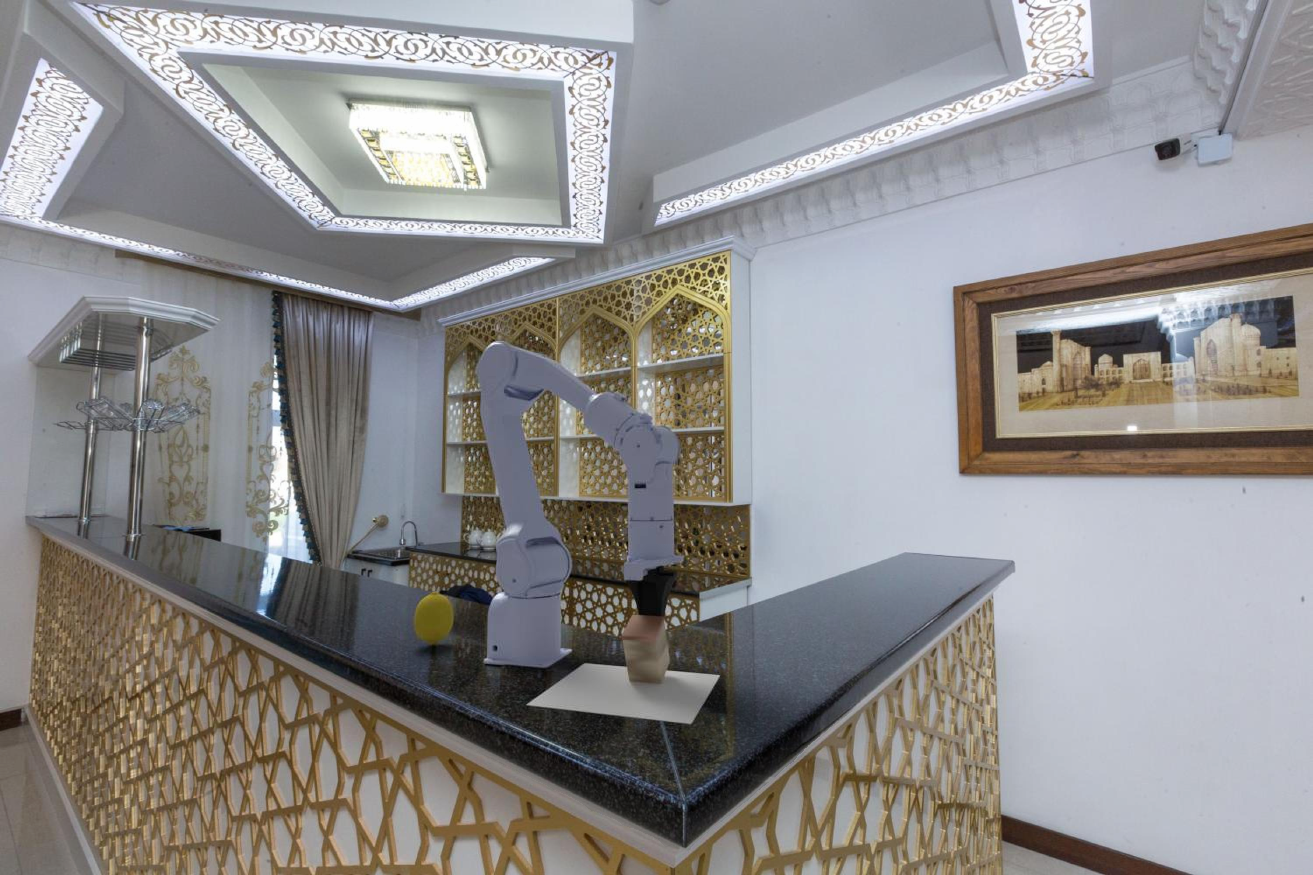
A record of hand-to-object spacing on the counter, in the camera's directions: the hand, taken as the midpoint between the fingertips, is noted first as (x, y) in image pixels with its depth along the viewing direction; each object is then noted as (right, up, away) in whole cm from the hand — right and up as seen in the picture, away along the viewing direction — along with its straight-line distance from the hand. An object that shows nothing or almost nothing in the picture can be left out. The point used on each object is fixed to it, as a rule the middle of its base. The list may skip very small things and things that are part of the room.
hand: (652, 631), depth 70 cm
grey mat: (-3, -5, -5) cm, 8 cm away
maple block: (0, -4, -1) cm, 5 cm away
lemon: (-33, -8, +15) cm, 37 cm away
